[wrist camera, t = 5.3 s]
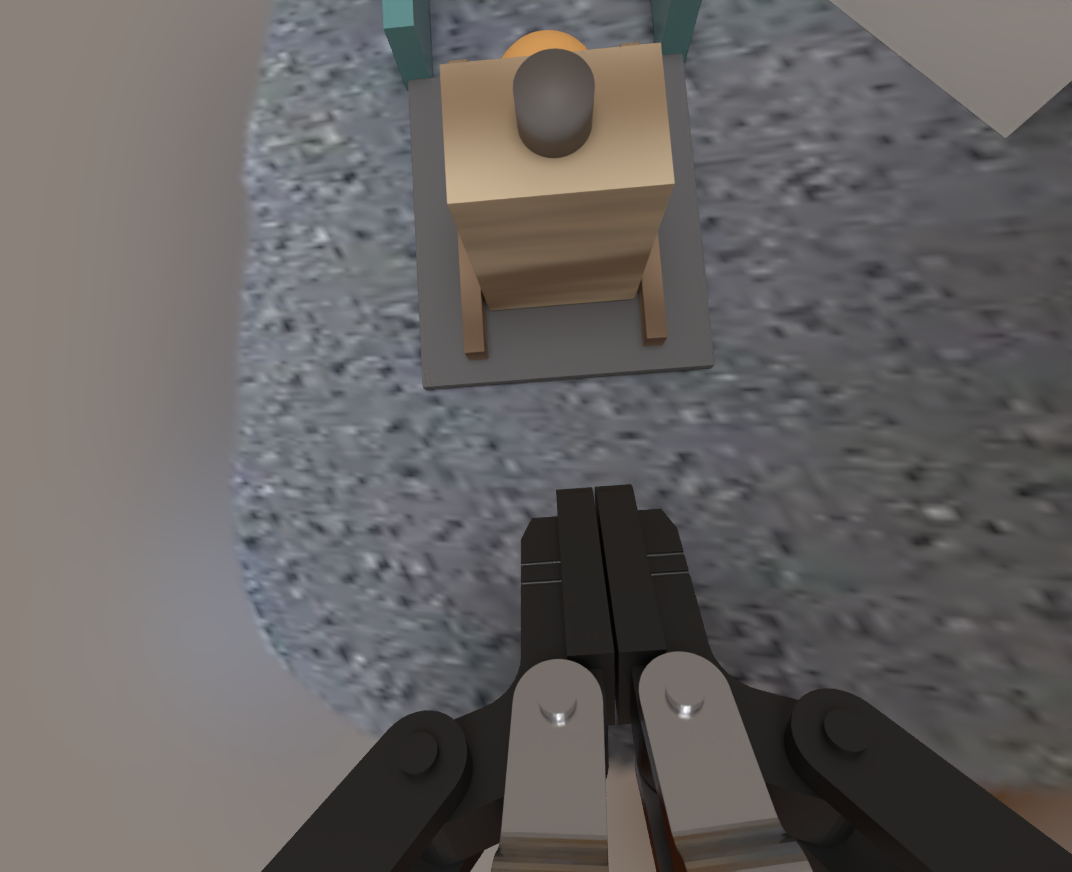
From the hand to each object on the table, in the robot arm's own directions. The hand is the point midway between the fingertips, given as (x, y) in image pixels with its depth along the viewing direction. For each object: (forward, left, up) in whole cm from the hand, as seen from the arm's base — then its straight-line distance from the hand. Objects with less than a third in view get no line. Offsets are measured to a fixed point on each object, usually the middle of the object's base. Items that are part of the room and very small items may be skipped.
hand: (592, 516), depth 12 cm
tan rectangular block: (+8, -7, -12) cm, 16 cm away
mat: (+9, -8, -12) cm, 17 cm away
